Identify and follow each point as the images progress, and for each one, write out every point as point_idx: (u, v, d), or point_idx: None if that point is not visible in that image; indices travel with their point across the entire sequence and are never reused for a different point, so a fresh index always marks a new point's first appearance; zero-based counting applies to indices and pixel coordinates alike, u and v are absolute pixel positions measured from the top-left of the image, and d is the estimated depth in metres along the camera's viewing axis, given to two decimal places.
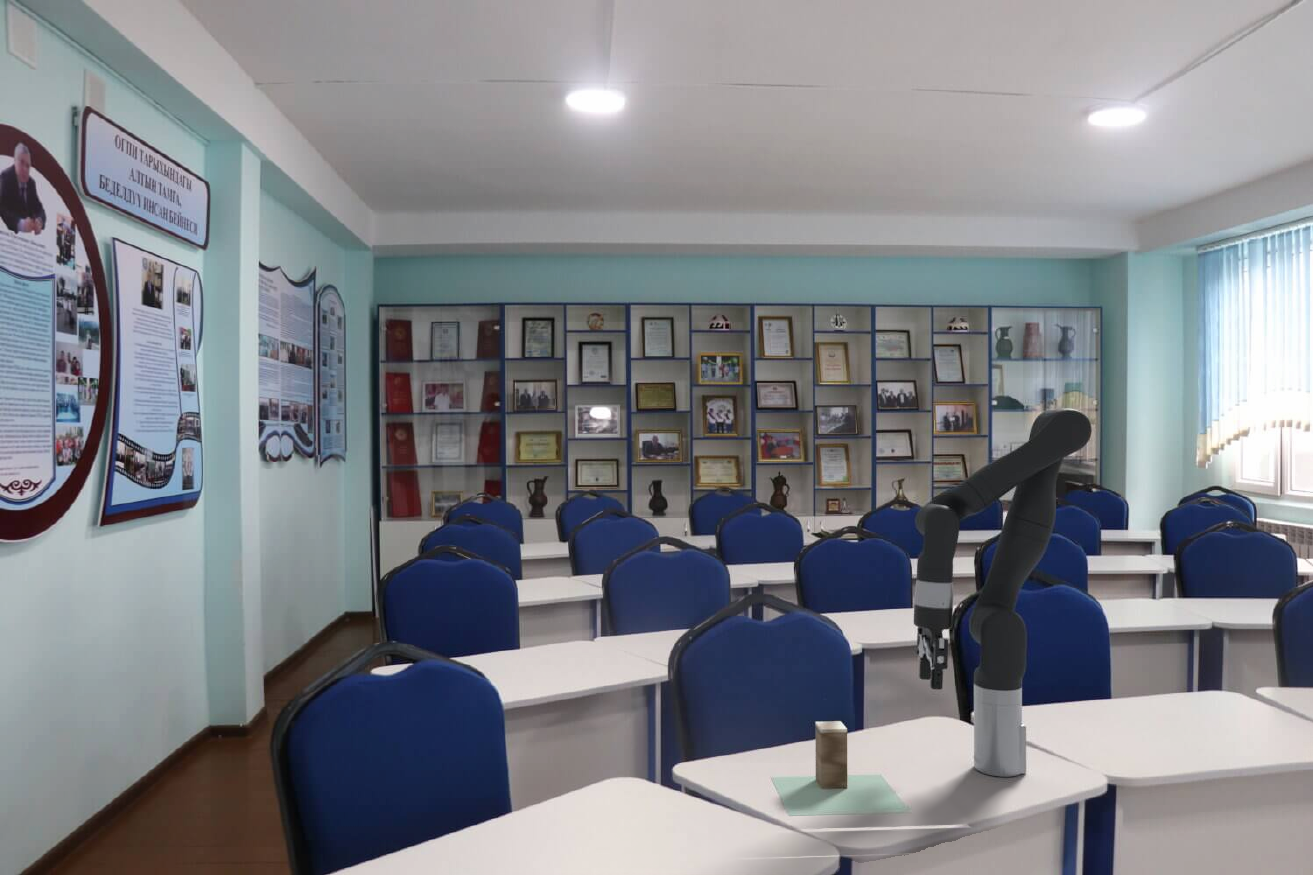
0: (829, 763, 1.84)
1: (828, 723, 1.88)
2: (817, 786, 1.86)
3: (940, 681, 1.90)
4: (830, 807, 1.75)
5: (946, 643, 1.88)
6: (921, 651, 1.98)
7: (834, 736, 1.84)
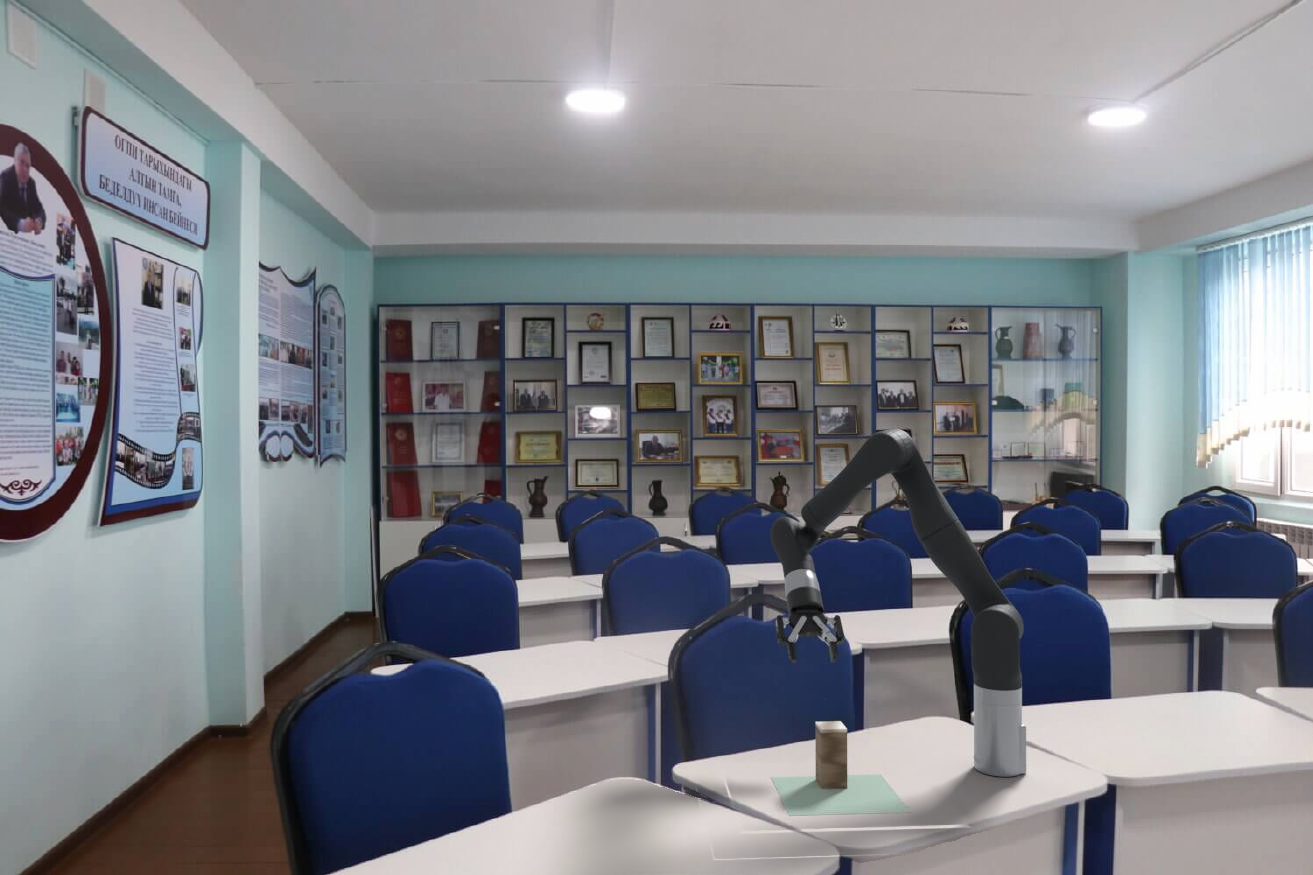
0: (829, 763, 1.84)
1: (828, 723, 1.88)
2: (817, 786, 1.86)
3: (789, 652, 2.01)
4: (830, 807, 1.75)
5: (776, 619, 2.06)
6: (822, 639, 2.06)
7: (834, 736, 1.84)
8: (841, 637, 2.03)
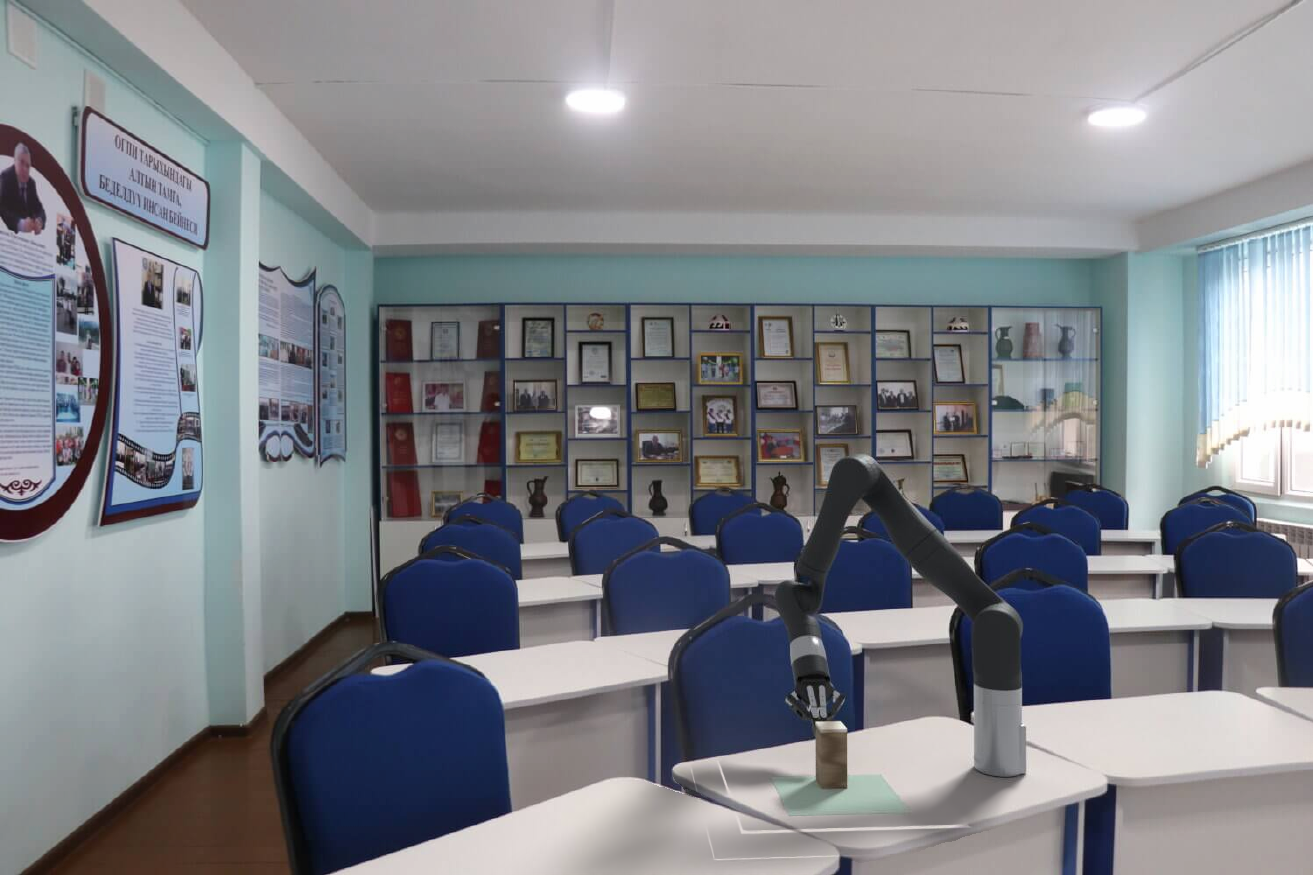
0: (829, 763, 1.84)
1: (828, 723, 1.88)
2: (817, 786, 1.86)
3: (814, 729, 1.95)
4: (830, 807, 1.75)
5: (788, 699, 1.99)
6: None
7: (834, 736, 1.84)
8: (831, 712, 1.97)
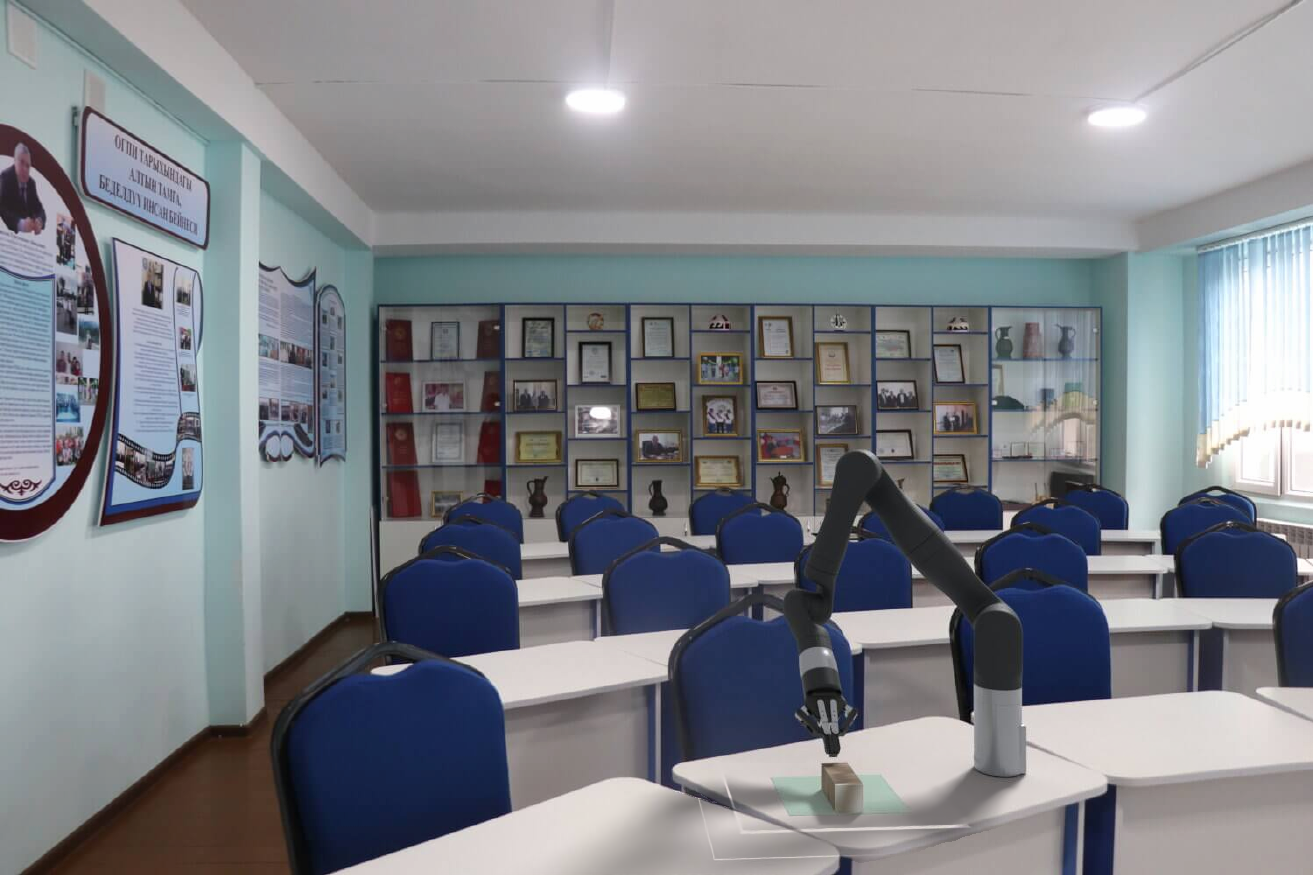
0: None
1: (848, 792, 1.73)
2: (817, 786, 1.86)
3: (825, 745, 1.85)
4: (830, 807, 1.75)
5: (798, 714, 1.89)
6: (829, 726, 1.90)
7: None
8: (843, 728, 1.87)
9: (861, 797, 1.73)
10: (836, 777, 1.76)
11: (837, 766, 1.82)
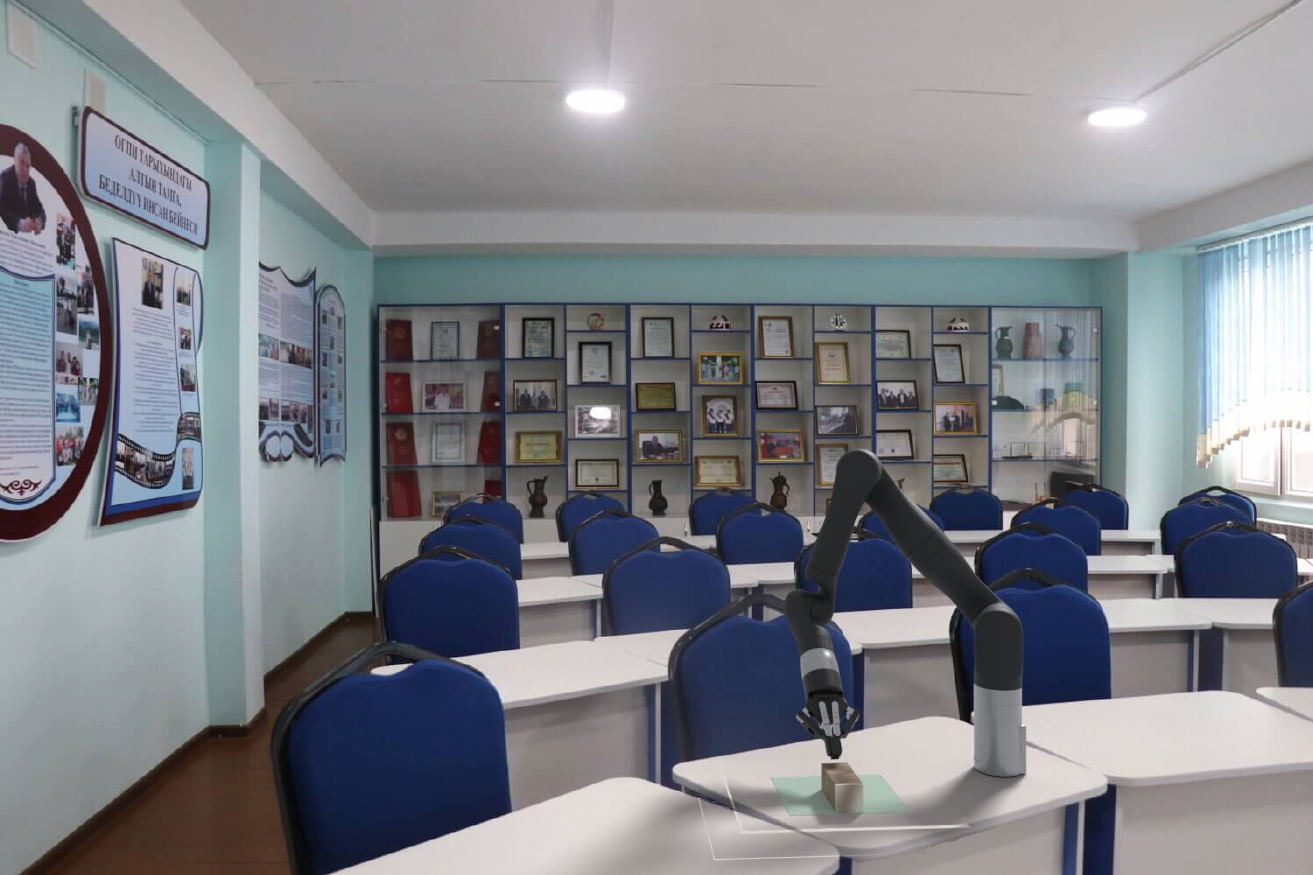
0: None
1: (848, 792, 1.73)
2: (817, 786, 1.86)
3: (827, 748, 1.84)
4: (830, 807, 1.75)
5: (799, 716, 1.88)
6: (830, 728, 1.89)
7: None
8: (845, 730, 1.86)
9: (861, 797, 1.73)
10: (836, 777, 1.76)
11: (837, 766, 1.82)
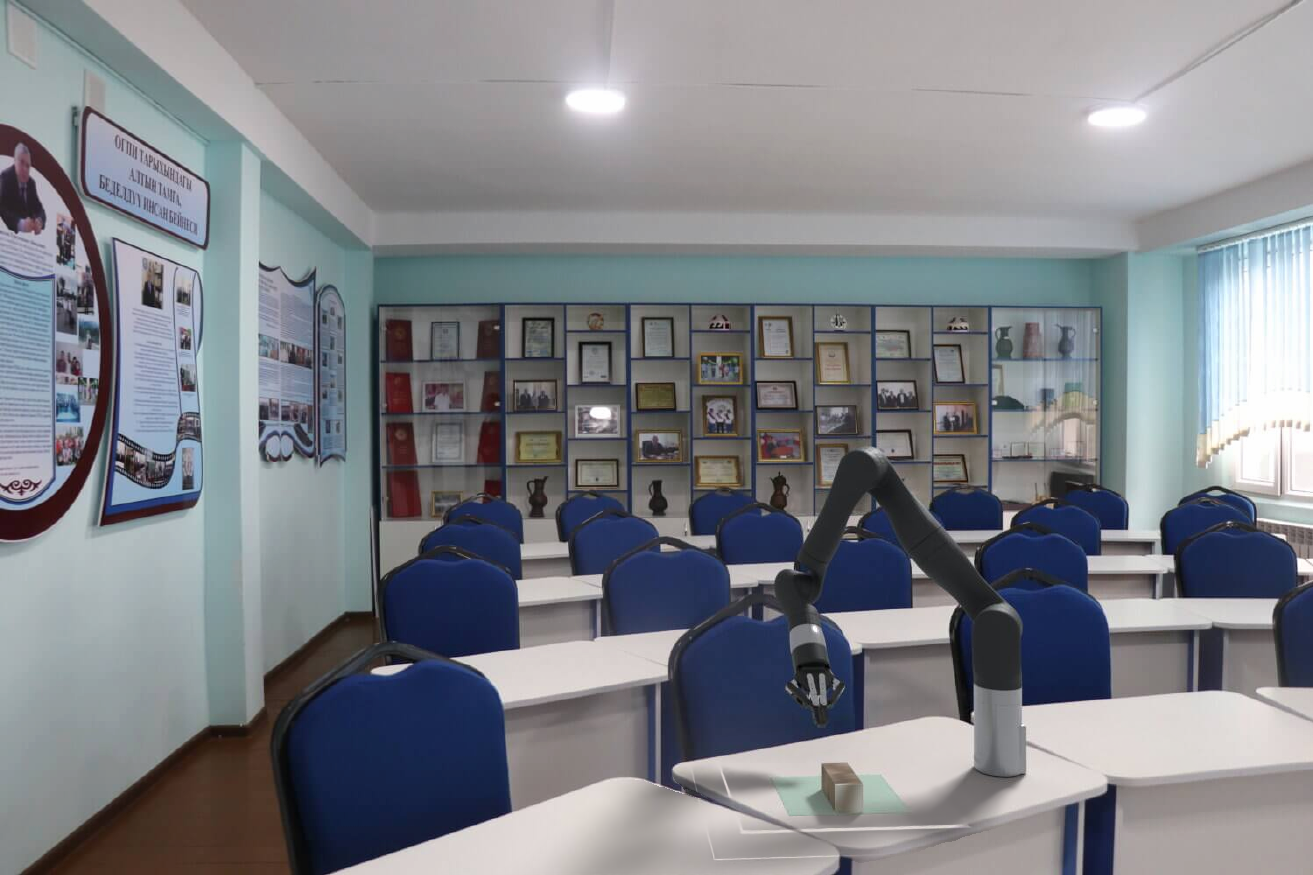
0: None
1: (848, 792, 1.73)
2: (817, 786, 1.86)
3: (814, 716, 1.95)
4: (830, 807, 1.75)
5: (788, 687, 1.99)
6: (817, 698, 2.00)
7: None
8: (831, 700, 1.97)
9: (861, 797, 1.73)
10: (836, 777, 1.76)
11: (837, 766, 1.82)
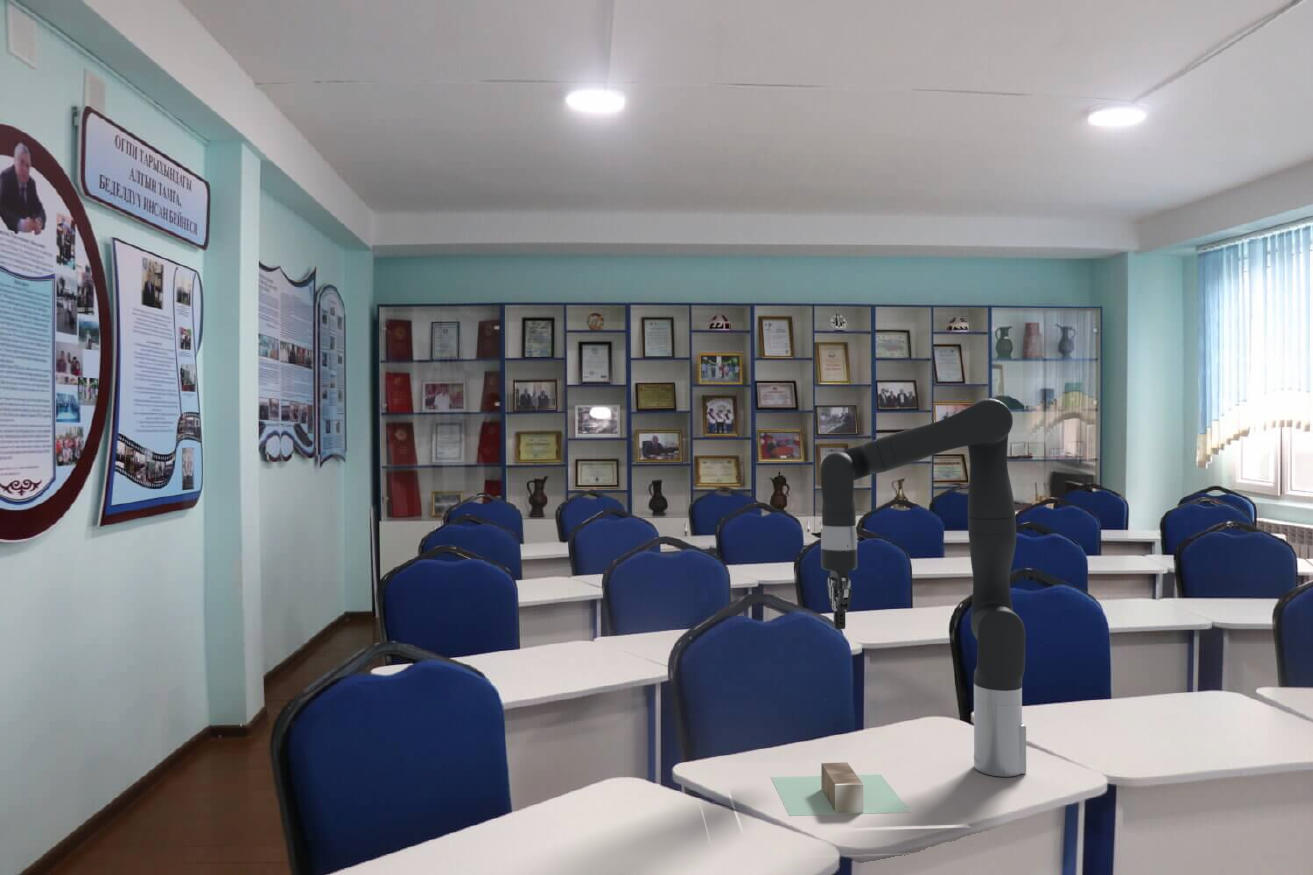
0: None
1: (848, 792, 1.73)
2: (817, 786, 1.86)
3: (843, 621, 2.03)
4: (830, 807, 1.75)
5: (850, 594, 1.99)
6: None
7: None
8: None
9: (861, 797, 1.73)
10: (836, 777, 1.76)
11: (837, 766, 1.82)
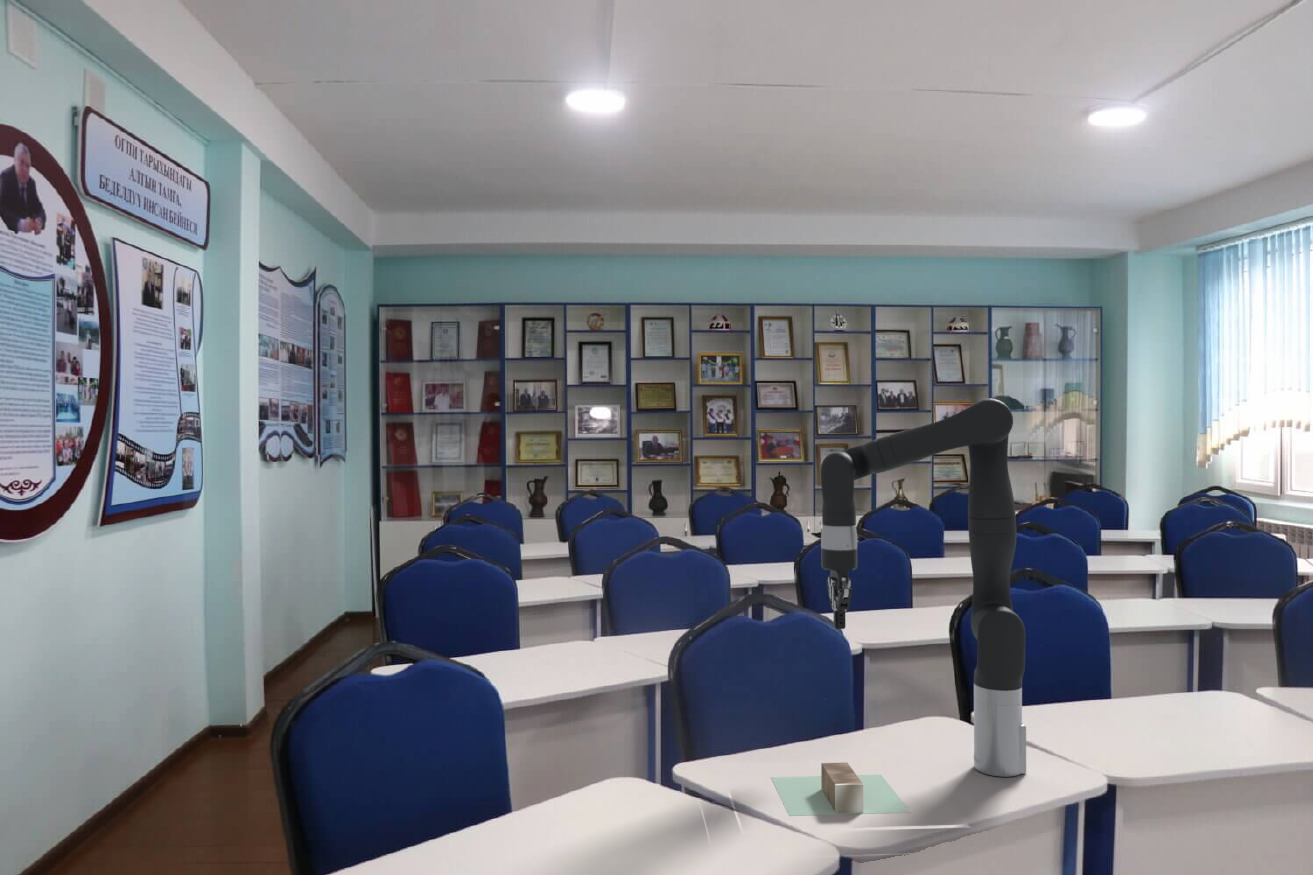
0: None
1: (848, 792, 1.73)
2: (817, 786, 1.86)
3: (843, 621, 2.03)
4: (830, 807, 1.75)
5: (850, 594, 1.99)
6: None
7: None
8: None
9: (861, 797, 1.73)
10: (836, 777, 1.76)
11: (837, 766, 1.82)
